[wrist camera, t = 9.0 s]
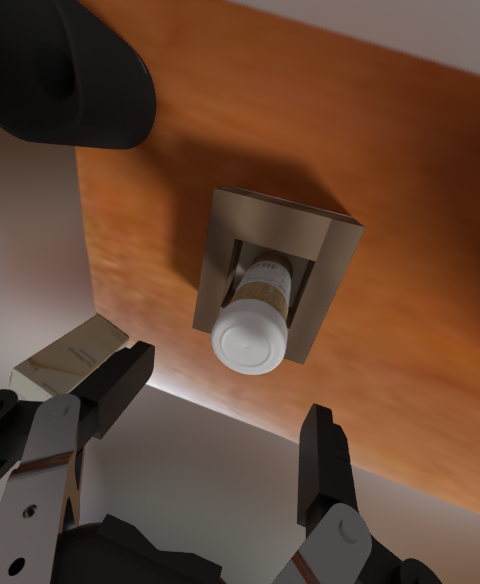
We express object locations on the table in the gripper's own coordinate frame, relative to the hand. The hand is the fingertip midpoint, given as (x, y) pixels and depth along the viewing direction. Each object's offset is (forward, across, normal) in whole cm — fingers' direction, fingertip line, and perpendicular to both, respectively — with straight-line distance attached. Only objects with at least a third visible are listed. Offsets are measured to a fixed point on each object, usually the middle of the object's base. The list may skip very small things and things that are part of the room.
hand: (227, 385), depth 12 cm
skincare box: (+18, +21, +18) cm, 33 cm away
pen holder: (+18, +19, -12) cm, 29 cm away
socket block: (+18, 0, 0) cm, 18 cm away
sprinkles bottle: (+16, 0, 0) cm, 17 cm away
